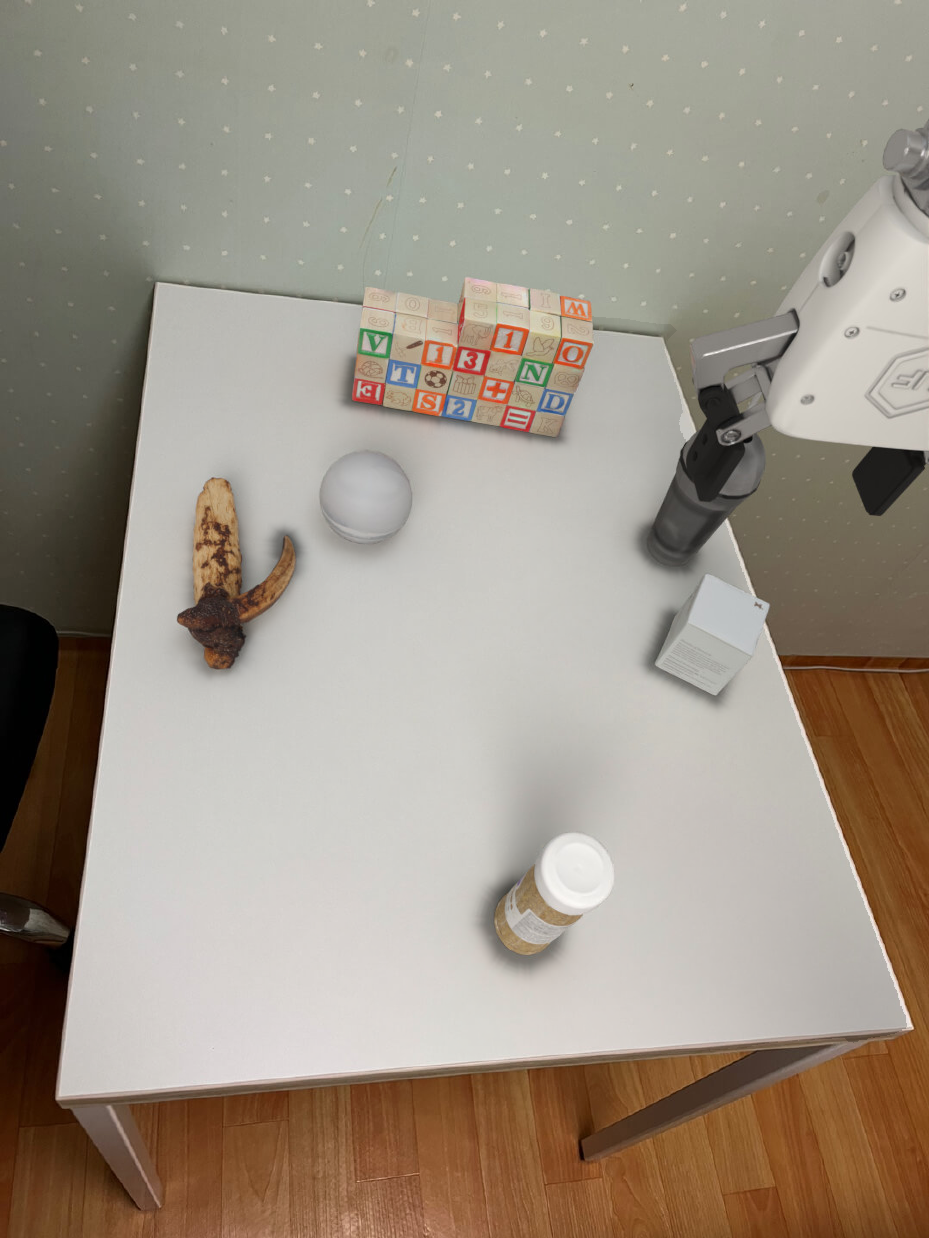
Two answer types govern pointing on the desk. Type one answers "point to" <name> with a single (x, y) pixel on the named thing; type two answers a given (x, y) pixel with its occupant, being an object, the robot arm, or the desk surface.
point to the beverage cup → (702, 504)
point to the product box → (713, 635)
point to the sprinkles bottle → (555, 892)
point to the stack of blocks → (475, 354)
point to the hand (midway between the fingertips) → (783, 488)
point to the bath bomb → (365, 497)
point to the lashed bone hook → (226, 578)
